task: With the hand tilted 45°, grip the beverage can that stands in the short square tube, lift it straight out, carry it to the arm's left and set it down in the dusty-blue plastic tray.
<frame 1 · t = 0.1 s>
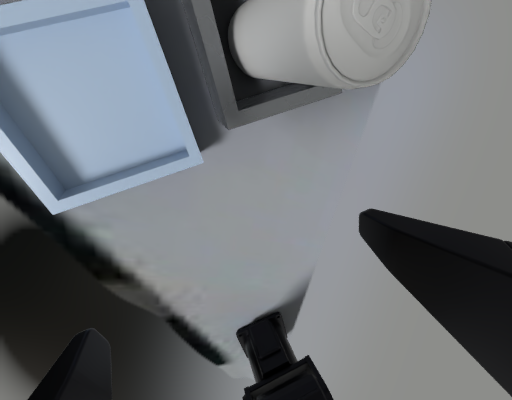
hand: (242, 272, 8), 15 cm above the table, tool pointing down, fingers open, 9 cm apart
beverage can: (256, 41, 18), resting in short square tube
short square tube: (257, 41, 18), on the table
tray: (97, 106, 17), on the table
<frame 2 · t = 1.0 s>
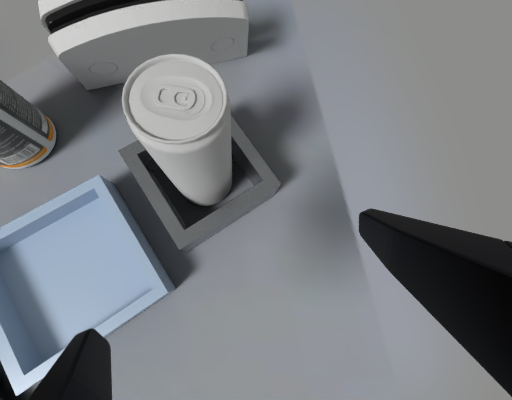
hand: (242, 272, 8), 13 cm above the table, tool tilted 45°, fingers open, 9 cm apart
beverage can: (205, 182, 23), resting in short square tube
white black arched block: (169, 66, 26), on the table
short square tube: (205, 181, 22), on the table
tray: (83, 271, 20), on the table
pill bottle: (27, 142, 22), on the table
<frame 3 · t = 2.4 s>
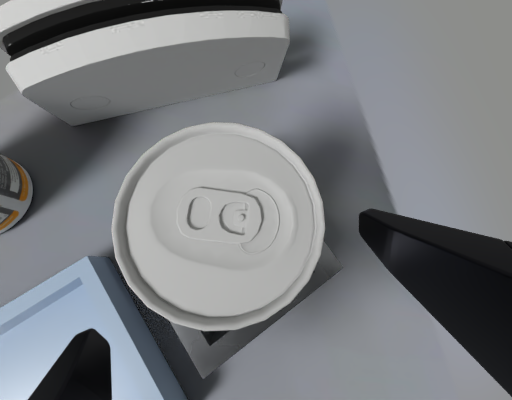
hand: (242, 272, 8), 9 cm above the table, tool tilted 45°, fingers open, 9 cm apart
beverage can: (231, 250, 17), resting in short square tube
white black arched block: (178, 93, 20), on the table
short square tube: (231, 250, 17), on the table
tray: (64, 390, 14), on the table
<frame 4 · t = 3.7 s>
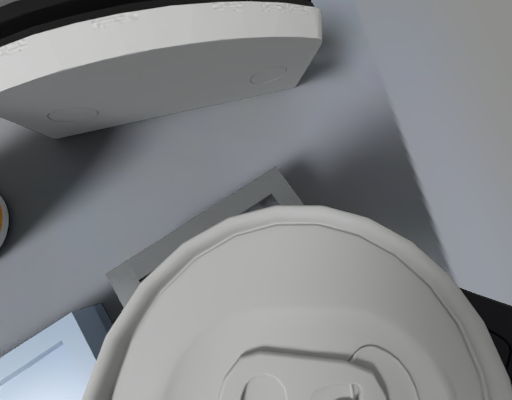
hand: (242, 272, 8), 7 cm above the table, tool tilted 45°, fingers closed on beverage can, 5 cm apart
beverage can: (248, 291, 14), resting in short square tube, touching gripper
white black arched block: (180, 100, 17), on the table
short square tube: (248, 292, 14), on the table
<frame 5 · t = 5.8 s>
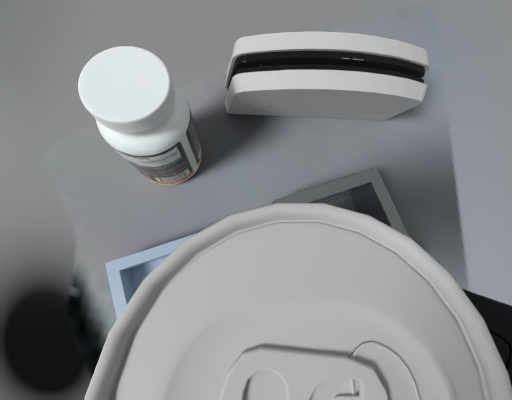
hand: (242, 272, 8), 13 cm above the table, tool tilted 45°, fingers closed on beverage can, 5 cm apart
beverage can: (248, 290, 14), point 6 cm above the table, touching gripper
white black arched block: (306, 109, 25), on the table
short square tube: (332, 241, 22), on the table
tray: (203, 304, 20), on the table
pill bottle: (171, 158, 23), on the table
when the fingers open (9 cm above the table, at t = 7.6 s): beverage can drops 1 cm, resting on tray.
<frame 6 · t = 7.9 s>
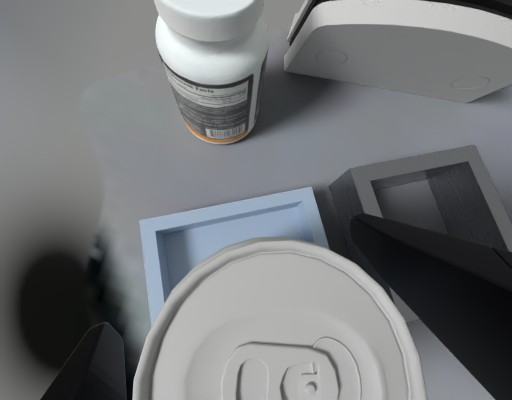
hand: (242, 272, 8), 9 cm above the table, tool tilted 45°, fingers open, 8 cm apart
beverage can: (248, 290, 16), point 1 cm above the table, touching tray
white black arched block: (375, 79, 22), on the table
short square tube: (403, 231, 18), on the table
tray: (245, 288, 16), on the table
pill bottle: (221, 116, 19), on the table
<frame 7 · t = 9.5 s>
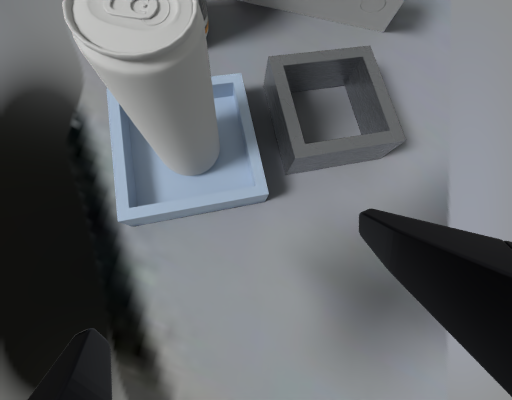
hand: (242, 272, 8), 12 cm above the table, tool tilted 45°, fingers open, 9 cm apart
beverage can: (191, 151, 20), point 1 cm above the table, touching tray
white black arched block: (309, 11, 27), on the table
short square tube: (320, 121, 23), on the table
tray: (191, 153, 21), on the table
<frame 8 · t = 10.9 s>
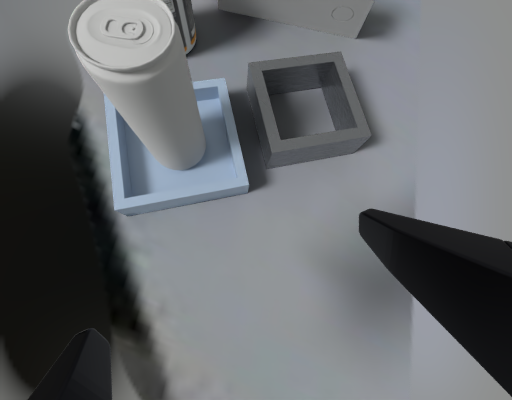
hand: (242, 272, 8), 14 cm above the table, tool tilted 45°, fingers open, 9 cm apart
beverage can: (180, 149, 23), point 1 cm above the table, touching tray
white black arched block: (288, 19, 29), on the table
short square tube: (299, 120, 25), on the table
tray: (180, 151, 23), on the table
pill bottle: (170, 42, 27), on the table
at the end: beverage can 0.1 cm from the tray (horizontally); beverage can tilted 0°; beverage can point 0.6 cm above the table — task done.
